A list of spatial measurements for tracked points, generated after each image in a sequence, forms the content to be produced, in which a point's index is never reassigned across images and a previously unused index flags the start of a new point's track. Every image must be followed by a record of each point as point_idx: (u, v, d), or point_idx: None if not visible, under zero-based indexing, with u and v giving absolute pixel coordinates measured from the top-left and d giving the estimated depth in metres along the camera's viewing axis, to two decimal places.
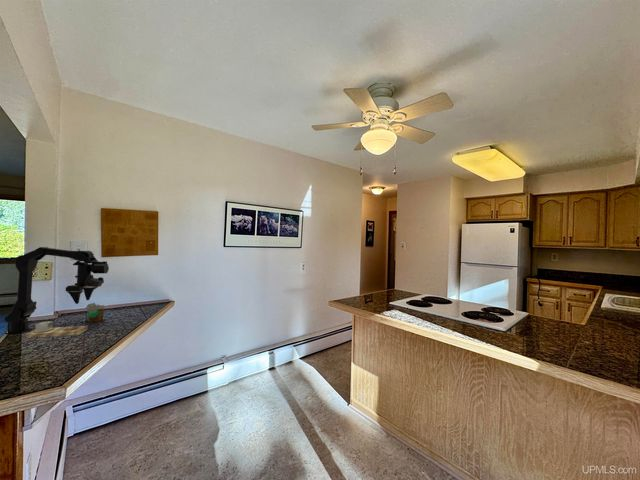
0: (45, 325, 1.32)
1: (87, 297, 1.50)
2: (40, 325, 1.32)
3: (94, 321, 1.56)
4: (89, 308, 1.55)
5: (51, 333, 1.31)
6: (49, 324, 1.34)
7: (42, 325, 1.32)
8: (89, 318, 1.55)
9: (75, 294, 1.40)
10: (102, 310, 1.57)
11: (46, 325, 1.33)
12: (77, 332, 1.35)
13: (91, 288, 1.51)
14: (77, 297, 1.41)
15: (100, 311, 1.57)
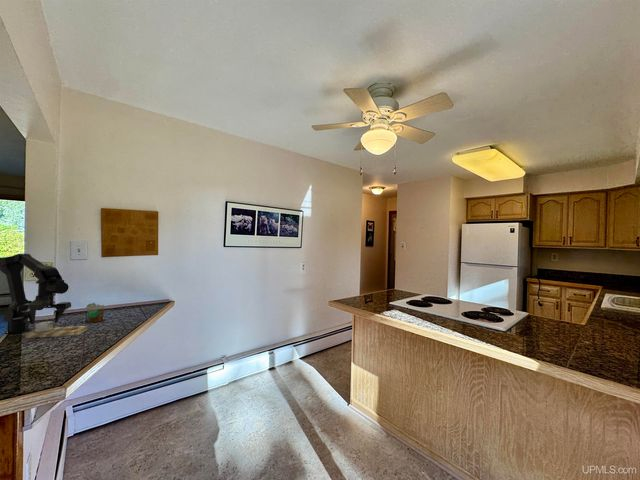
0: (45, 325, 1.32)
1: None
2: (40, 325, 1.32)
3: (94, 321, 1.56)
4: (89, 308, 1.55)
5: (51, 333, 1.31)
6: (49, 324, 1.34)
7: (42, 325, 1.32)
8: (89, 318, 1.55)
9: None
10: (102, 310, 1.57)
11: (46, 325, 1.33)
12: (77, 332, 1.35)
13: None
14: None
15: (100, 311, 1.57)
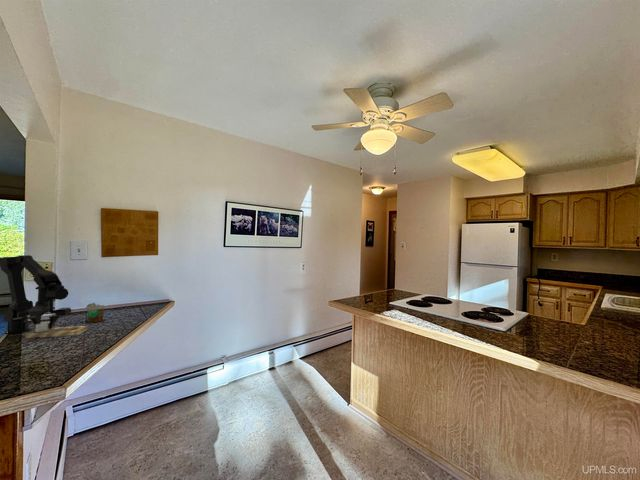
0: (45, 325, 1.32)
1: None
2: (40, 325, 1.32)
3: (94, 321, 1.56)
4: (89, 308, 1.55)
5: (51, 333, 1.31)
6: (49, 324, 1.34)
7: (42, 325, 1.32)
8: (89, 318, 1.55)
9: None
10: (102, 310, 1.57)
11: (46, 325, 1.33)
12: (77, 332, 1.35)
13: None
14: None
15: (100, 311, 1.57)
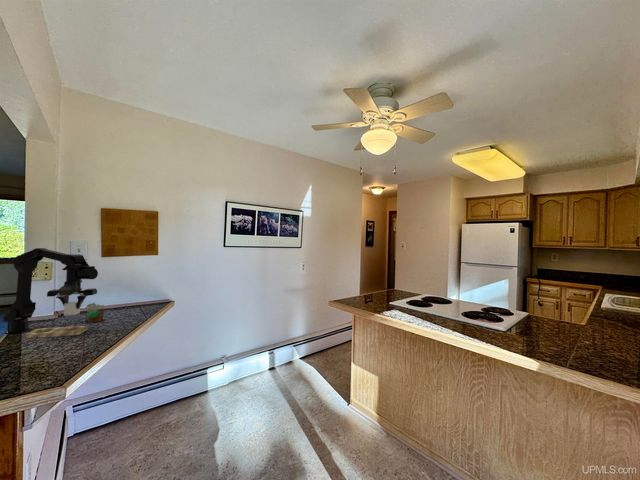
0: (73, 304, 1.36)
1: None
2: (68, 304, 1.35)
3: (94, 321, 1.56)
4: (89, 308, 1.55)
5: (51, 333, 1.31)
6: None
7: (70, 304, 1.36)
8: (89, 318, 1.55)
9: None
10: (102, 310, 1.57)
11: (74, 304, 1.36)
12: (77, 332, 1.35)
13: None
14: None
15: (100, 311, 1.57)
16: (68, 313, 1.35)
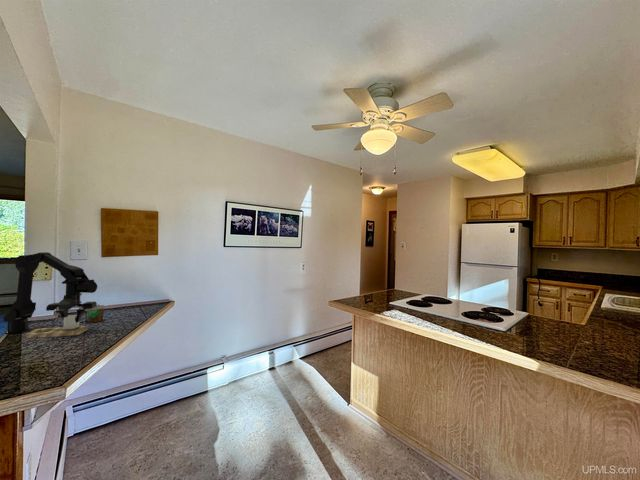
0: (72, 318, 1.36)
1: None
2: (68, 318, 1.35)
3: (94, 321, 1.56)
4: None
5: (51, 333, 1.31)
6: (76, 317, 1.38)
7: (70, 318, 1.36)
8: (89, 318, 1.55)
9: None
10: (102, 310, 1.57)
11: (73, 318, 1.36)
12: (77, 332, 1.35)
13: None
14: None
15: (100, 311, 1.57)
16: (67, 327, 1.35)
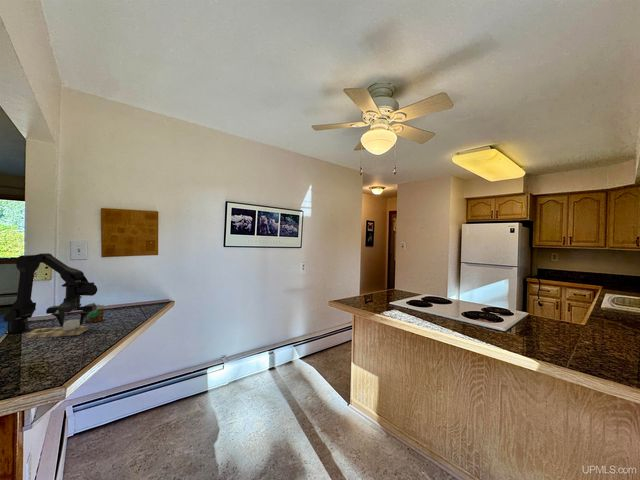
0: (72, 323, 1.36)
1: None
2: (68, 323, 1.35)
3: (94, 321, 1.56)
4: None
5: (51, 333, 1.31)
6: (76, 322, 1.38)
7: (69, 323, 1.35)
8: (89, 318, 1.55)
9: None
10: (102, 310, 1.57)
11: (73, 323, 1.36)
12: (77, 332, 1.35)
13: None
14: None
15: (100, 311, 1.57)
16: None
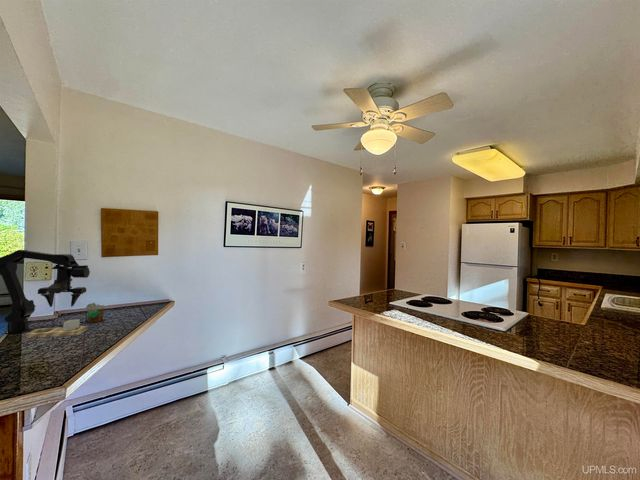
0: (72, 323, 1.36)
1: None
2: (68, 323, 1.35)
3: (94, 321, 1.56)
4: (89, 308, 1.55)
5: (51, 333, 1.31)
6: (76, 322, 1.38)
7: (69, 323, 1.35)
8: (89, 318, 1.55)
9: None
10: (102, 310, 1.57)
11: (73, 323, 1.36)
12: (77, 332, 1.35)
13: None
14: None
15: (100, 311, 1.57)
16: None
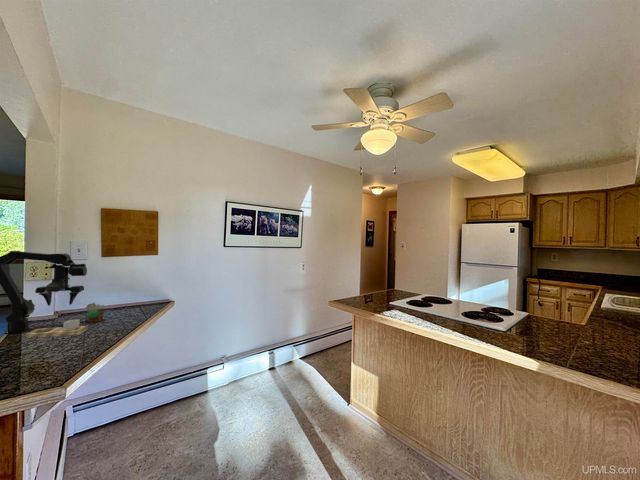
0: (72, 323, 1.36)
1: None
2: (68, 323, 1.35)
3: (94, 321, 1.56)
4: (89, 308, 1.55)
5: (51, 333, 1.31)
6: (76, 322, 1.38)
7: (69, 323, 1.35)
8: (89, 318, 1.55)
9: None
10: (102, 310, 1.57)
11: (73, 323, 1.36)
12: (77, 332, 1.35)
13: None
14: None
15: (100, 311, 1.57)
16: None
